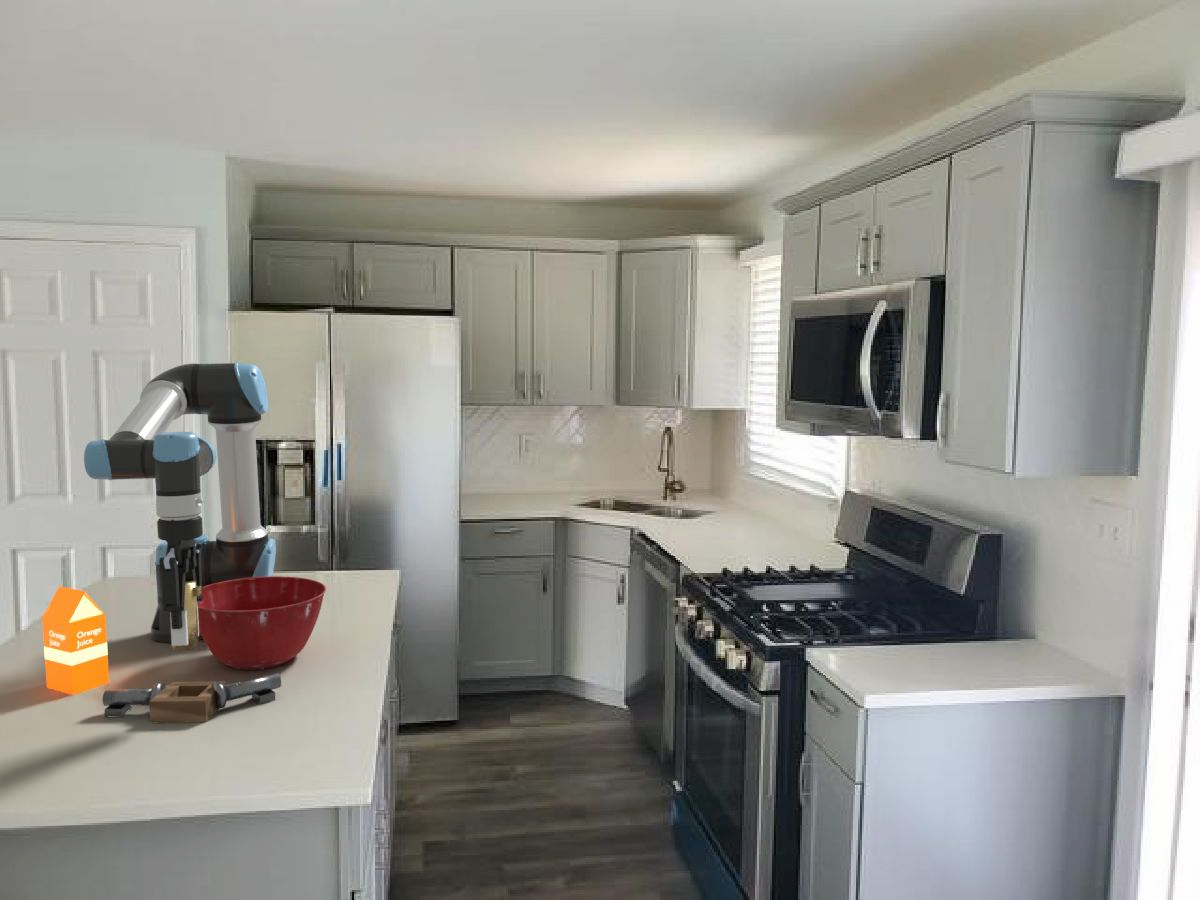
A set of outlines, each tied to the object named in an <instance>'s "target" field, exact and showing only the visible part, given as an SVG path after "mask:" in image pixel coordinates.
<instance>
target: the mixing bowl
mask: <svg viewBox="0 0 1200 900" xmlns="http://www.w3.org/2000/svg"><path fill="white" fill-rule="evenodd" d="M326 591H327V587H326V585H325V584H324V583H322V582H320V581H317V580H315V579H311V578H305V577H299V576H298V577H297V576H282V575H281V576H279V575H278V576H277V575H275V576H274V575H272V576H269V577H252V578H243V579H235V580H229V581H223V582H219V583H214V584H211V585H207V586H204V587H202V595H199V596H203V600H202V601H197V602H198V622H199V632H200V634H201V636H202V638H203V639H202V640H203V642H204V644H206V646H207V649H208V650H209V651H210V653H211V654H212V656H214V658H216V660H218V661H219V662H221V663H223V664H225V665H227V666H229V667H230V668H233V669H237V670H244V671H245V670H246V671H248V670H249V671H251V670H252V671H257V670H265V669H264V668H266V669H270V667H271V668H275V667H274V666H276V667H278V665H279V666H282V665H284V664H287V663H288V662H289V661H291V659H293V658H295V657H296V656H297V655H299V653H301V652H302V651H303V649H304V648H305V646H306V645H307V643H308V641H309V639H310V637H311V635H312V633H313V631H314V629H315V626H316V624H317V621H318V619H319V616H320V612H321V609H322V604H323V600H324V596H325V594H326ZM281 664H282V665H281ZM256 669H257V670H256Z"/></svg>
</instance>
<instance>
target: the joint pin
mask: <svg viewBox="0 0 1200 900" xmlns="http://www.w3.org/2000/svg"><path fill="white" fill-rule="evenodd" d="M201 594H202V592H201V586H196V581H193V580H186V581H185V600H184V610H187V626H188V645H180V646H172V649H173V650H175V651H185V650H186V651H187V650H192V649H195V648H198V646H199V644H200V642H199V640H200V639H198V618H197V596H199V595H201Z"/></svg>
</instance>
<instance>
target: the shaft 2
mask: <svg viewBox="0 0 1200 900" xmlns="http://www.w3.org/2000/svg"><path fill="white" fill-rule="evenodd" d="M221 681H222V680H217V682H213V683H212V685H211V688H213V689H214V690H215V691H216V709H218V710H219V709H224V708H225V707H226V704H227V702H229V701H233V700H236V699H241V698H245V697H249V696H251V699H253V700H254V699H255V700H256V702H257V703H258V702H259V703H258V704H260V703H261V704H264V703H263V702H265V703H268V701H269V702H272V701H271V700H273V701H275V700H276V692H275V691H273V690H277V689H280V688H281V687H282V678H281V675H280V673H278V672H274V673H270V674H269V673H268V674H266V675H261V676H257V677H253V678H250V679H245V680H241V681H236V682H233V683H229V684H225V685H224V686H223V684H222V682H221ZM255 700H254V701H255Z"/></svg>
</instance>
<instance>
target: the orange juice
mask: <svg viewBox="0 0 1200 900" xmlns="http://www.w3.org/2000/svg"><path fill="white" fill-rule="evenodd" d="M41 619H42V633H43V634H42V635H43V650H44V651H43V655H44V656H43V657H44V664H45V677H46V678H45V680H46V688H47V689H51V690H53V689H54V690H55V691H57V692H60V691H61V693H64V692H65V694H68V693H69V694H68V695H71V694H72V695H71V696H76V695H78V693H79V694H81V692H82V693H84V692H87V691H90V690H93V689H95V687H96V688H98V686H99V687H101V685H102V686H105V685H108V684H110V674H109V658H108V657H109V656H108V655H109V652H108V651H109V650H108V641H107V639H108V638H107V622H106V621H107V620H106V613H104V611H103V610H102V609H101V608H100V607H99V606H98V605H97V604H96V603H95V602H94V601H93V599H92V598H91V597H90V595H88V594H87V592H86V591H85V590H80V589H76V588H75V589H74V588H70V587H64V586H58V588H57V590H56V592H55V593H54V595H53V597H52V599H51V601H50V603H49V604H48V605H47V608H46V610H45V612H44V613H43V616H42V617H41ZM107 683H108V684H107ZM104 684H105V685H104ZM92 688H93V689H92ZM86 690H87V691H86ZM75 694H76V695H75Z"/></svg>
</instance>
